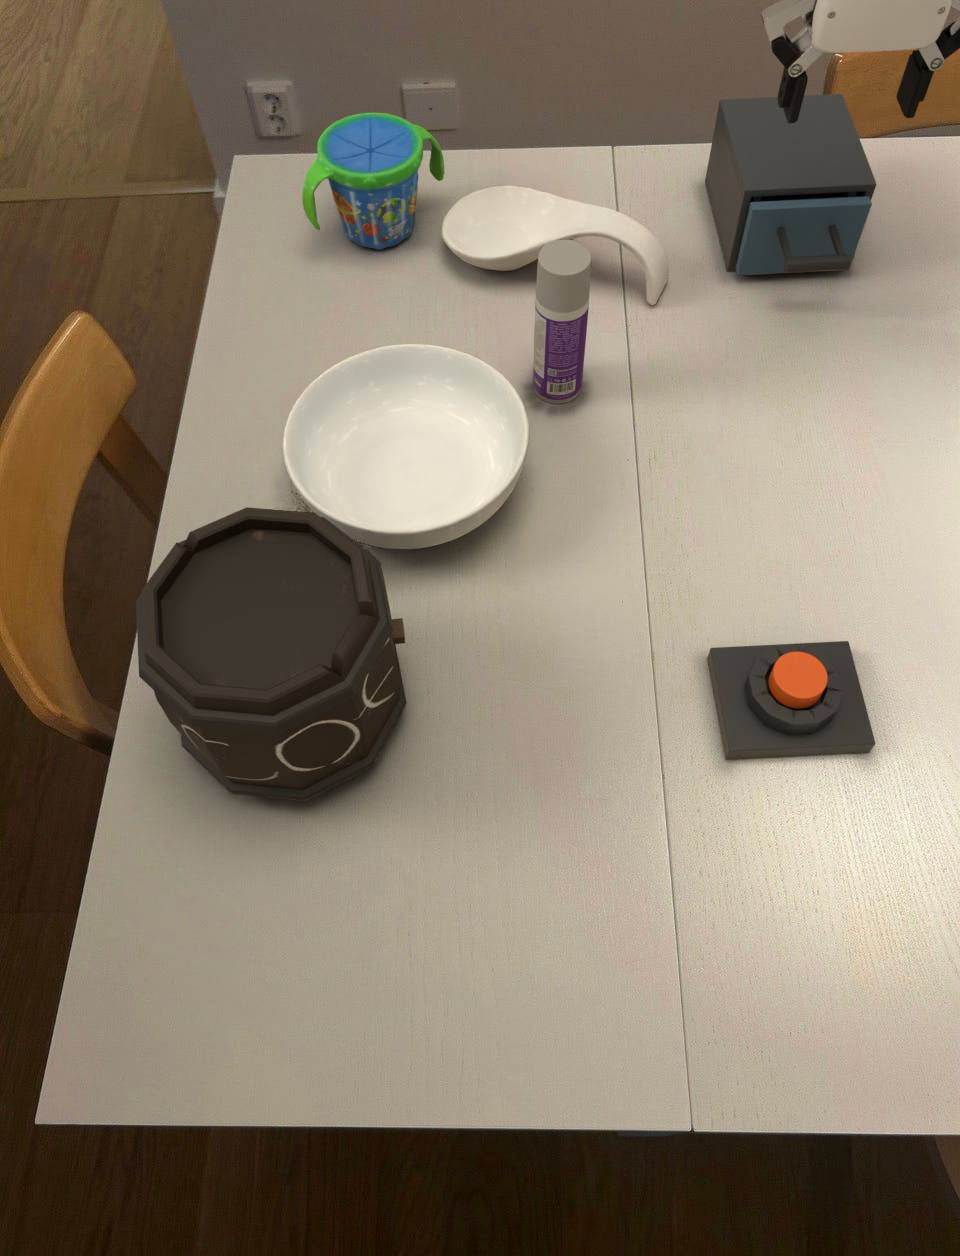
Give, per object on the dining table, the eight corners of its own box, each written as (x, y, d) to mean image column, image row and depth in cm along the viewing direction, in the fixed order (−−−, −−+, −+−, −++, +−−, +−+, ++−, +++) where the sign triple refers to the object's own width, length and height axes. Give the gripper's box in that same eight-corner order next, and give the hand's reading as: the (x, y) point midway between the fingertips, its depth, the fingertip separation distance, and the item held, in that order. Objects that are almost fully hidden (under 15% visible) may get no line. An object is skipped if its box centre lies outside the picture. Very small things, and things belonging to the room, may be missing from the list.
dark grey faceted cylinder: (433, 787, 80) (419, 689, 67) (195, 835, 79) (130, 744, 65) (395, 592, 89) (375, 472, 76) (181, 631, 88) (122, 515, 74)
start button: (815, 661, 82) (821, 649, 80) (827, 707, 79) (833, 696, 78) (763, 663, 81) (768, 652, 80) (773, 710, 79) (778, 699, 78)
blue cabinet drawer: (862, 309, 104) (887, 243, 98) (747, 315, 104) (763, 249, 98) (821, 185, 114) (840, 118, 108) (715, 190, 114) (728, 123, 108)
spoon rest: (426, 273, 110) (421, 214, 104) (469, 204, 115) (467, 144, 109) (645, 331, 105) (654, 272, 99) (679, 256, 110) (689, 196, 104)
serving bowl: (261, 447, 98) (245, 394, 92) (463, 368, 103) (460, 313, 97) (352, 616, 88) (341, 569, 82) (570, 520, 93) (575, 469, 87)
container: (590, 379, 102) (602, 249, 89) (567, 410, 100) (576, 283, 87) (547, 361, 103) (553, 231, 90) (523, 392, 101) (526, 264, 88)
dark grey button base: (843, 651, 85) (855, 628, 82) (869, 753, 81) (883, 733, 78) (706, 658, 85) (714, 635, 82) (725, 760, 81) (733, 741, 78)
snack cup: (425, 179, 118) (419, 92, 109) (466, 235, 113) (463, 148, 104) (294, 222, 114) (276, 136, 106) (330, 281, 109) (315, 196, 101)
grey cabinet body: (849, 265, 109) (877, 184, 101) (727, 271, 109) (744, 190, 101) (819, 176, 117) (842, 93, 108) (704, 181, 117) (719, 99, 108)
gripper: (1021, -151, 76) (938, 80, 90) (779, -140, 76) (735, 89, 90) (1055, -99, 72) (962, 134, 86) (800, -87, 72) (750, 143, 86)
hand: (846, 110), depth 88 cm, fingers open, 9 cm apart
